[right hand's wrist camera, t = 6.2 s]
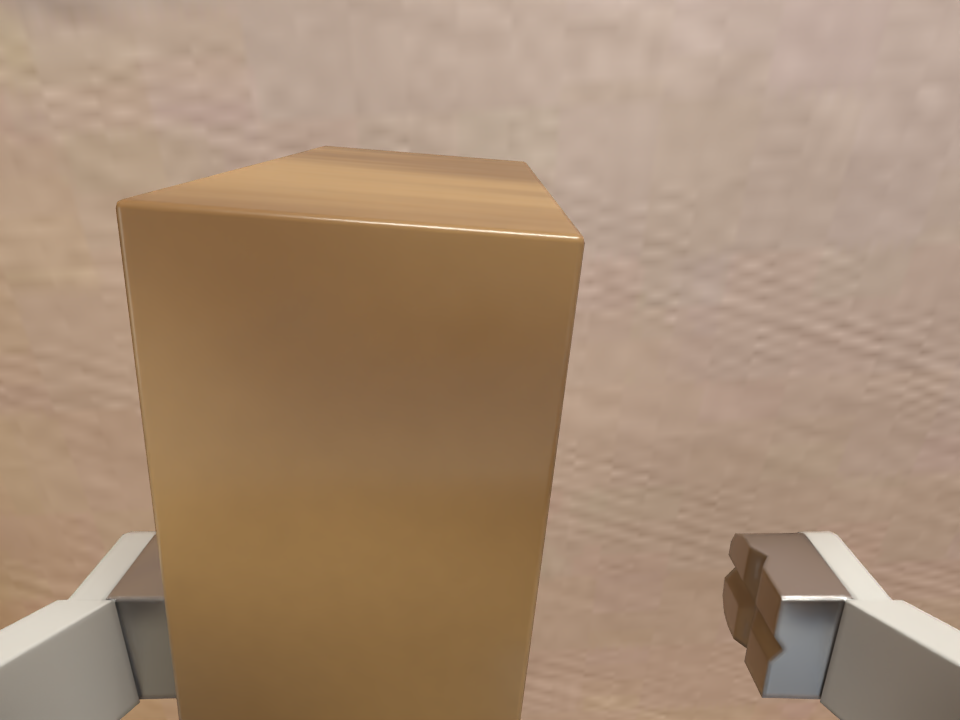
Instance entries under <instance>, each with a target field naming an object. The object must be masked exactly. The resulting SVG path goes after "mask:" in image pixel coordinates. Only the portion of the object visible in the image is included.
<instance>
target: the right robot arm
mask: <svg viewBox="0 0 960 720" xmlns="http://www.w3.org/2000/svg"><path fill="white" fill-rule="evenodd" d="M729 556H730V558H731V560H732V562H733V564H734V566H735V568H734V569H733V570H732V571H731V572H730V573H729V574H728V575H727V576H726V577H725V580H724V588H723V605H724V614H725V618H726V621H727V625H728V627H729V630H730V632H731V634H732V636H733V638H734V639H735V640H736V641H738V642H739V643H740V644H742V645H743V646H744V647H746V648H747V650H746V656H745V661H744V662H745V664H746V666H747V668H748V670H749V672H750V674H751V676H752V678H753V680H754V682H755V684H756V686H757V688H758V690H759V692H760V694H761V696H762V698H796V699H821V700H820V702H821V703H822V704H823V705H824V706H825V707H826V708H827V709H829V710H830V711H831V712H832V713H833V714H834V715H835V716H837V717H838V718H839V719H840V720H960V630H958V629H956V628H954V627H952V626H950V625H949V624H947V623H945V622H943V621H941V620H939V619H937V618H935V617H933V616H932V615H930V614H928V613H926V612H924V611H922V610H920V609H918V608H916V607H915V606H913V605H911V604H909V603H907V602H905V601H903V600H892V599H891V598H890V597H889V596H888V594H887V593H886V592H885V591H884V590H883V588H882V587H881V586H880V585H879V584H878V583H877V581H876V580H875V579H874V578H873V577H872V575H871V574H870V573H869V572H868V571H867V570H866V568H865V567H864V566H863V565H862V564H861V562H860V561H859V560H858V559H857V558H856V556H855V555H854V554H853V553H852V552H851V551H850V549H849V548H848V547H847V546H846V545H845V543H844V542H843V541H842V540H841V539H840V538H839V536H838V535H836V534H834V533H832V532H830V531H815V532H798V533H736V534H735V535H734V537H733V539H732V541H731V545H730V550H729ZM163 698H176V690H175V682H174V674H173V665H172V657H171V649H170V641H169V633H168V625H167V617H166V609H165V601H164V593H163V585H162V577H161V569H160V560H159V552H158V544H157V536H156V532H143V531H131V532H129V533H126V534H123V535H122V536H121V537H120V538H119V540H118V541H117V542H116V543H115V544H114V546H113V547H112V548H111V549H110V550H109V551H108V553H107V554H106V555H105V556H104V557H103V559H102V560H101V561H100V562H99V563H98V565H97V566H96V567H95V568H94V569H93V570H92V572H91V573H90V574H89V575H88V576H87V578H86V579H85V580H84V581H83V582H82V584H81V585H80V586H79V587H78V588H77V589H76V591H75V592H74V593H73V594H72V595H71V597H70V598H69V599H68V600H57V601H55V602H53V603H51V604H49V605H47V606H45V607H43V608H41V609H40V610H38V611H36V612H34V613H32V614H30V615H28V616H26V617H24V618H22V619H21V620H19V621H17V622H15V623H13V624H11V625H9V626H7V627H5V628H4V629H2V630H0V720H120V719H121V718H122V717H124V716H125V715H126V714H127V713H128V712H129V711H130V710H132V709H133V708H134V707H135V706H136V705H137V704H138V703H140V700H139V699H163Z"/></svg>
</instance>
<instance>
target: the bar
mask: <svg viewBox="0 0 960 720" xmlns="http://www.w3.org/2000/svg"><path fill="white" fill-rule="evenodd" d="M116 213H117V221H118V229H119V237H120V246H121V254H122V262H123V270H124V278H125V286H126V294H127V302H128V310H129V318H130V326H131V334H132V342H133V351H134V359H135V367H136V375H137V383H138V391H139V399H140V407H141V415H142V423H143V431H144V439H145V447H146V455H147V464H148V472H149V480H150V488H151V496H152V504H153V512H154V520H155V528H156V536H157V544H158V552H159V560H160V569H161V577H162V585H163V593H164V601H165V609H166V617H167V625H168V633H169V641H170V649H171V657H172V665H173V674H174V682H175V690H176V698H177V706H178V714H179V720H520V718H521V711H522V703H523V696H524V688H525V681H526V674H527V666H528V659H529V651H530V644H531V637H532V629H533V622H534V614H535V607H536V600H537V592H538V585H539V577H540V570H541V563H542V555H543V548H544V540H545V533H546V525H547V518H548V511H549V503H550V496H551V488H552V481H553V474H554V466H555V459H556V451H557V444H558V437H559V429H560V422H561V414H562V407H563V400H564V392H565V385H566V377H567V370H568V363H569V355H570V348H571V340H572V333H573V326H574V318H575V311H576V303H577V296H578V289H579V281H580V274H581V266H582V259H583V252H584V244H585V243H584V239H583V236H582V235H581V234H580V232H579V231H578V230H577V228H576V227H575V226H574V225H573V223H572V222H571V221H570V219H569V218H568V217H567V215H566V214H565V213H564V212H563V210H562V209H561V208H560V206H559V205H558V204H557V202H556V201H555V200H554V199H553V197H552V196H551V195H550V193H549V192H548V191H547V189H546V188H545V187H544V186H543V184H542V183H541V182H540V180H539V179H538V178H537V176H536V175H535V174H534V173H533V171H532V170H531V169H530V167H529V166H528V165H527V164H526V163H525V162H520V161H508V160H495V159H483V158H470V157H458V156H445V155H433V154H420V153H408V152H395V151H383V150H370V149H358V148H345V147H333V146H323V147H320V148H316V149H312V150H308V151H304V152H301V153H297V154H293V155H289V156H285V157H282V158H278V159H274V160H270V161H266V162H262V163H259V164H255V165H251V166H247V167H243V168H240V169H236V170H232V171H228V172H224V173H221V174H217V175H213V176H209V177H205V178H202V179H198V180H194V181H190V182H186V183H183V184H179V185H175V186H171V187H167V188H164V189H160V190H156V191H152V192H148V193H145V194H141V195H137V196H133V197H129V198H126V199H122V200H120V201H118V202H117V205H116Z"/></svg>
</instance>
